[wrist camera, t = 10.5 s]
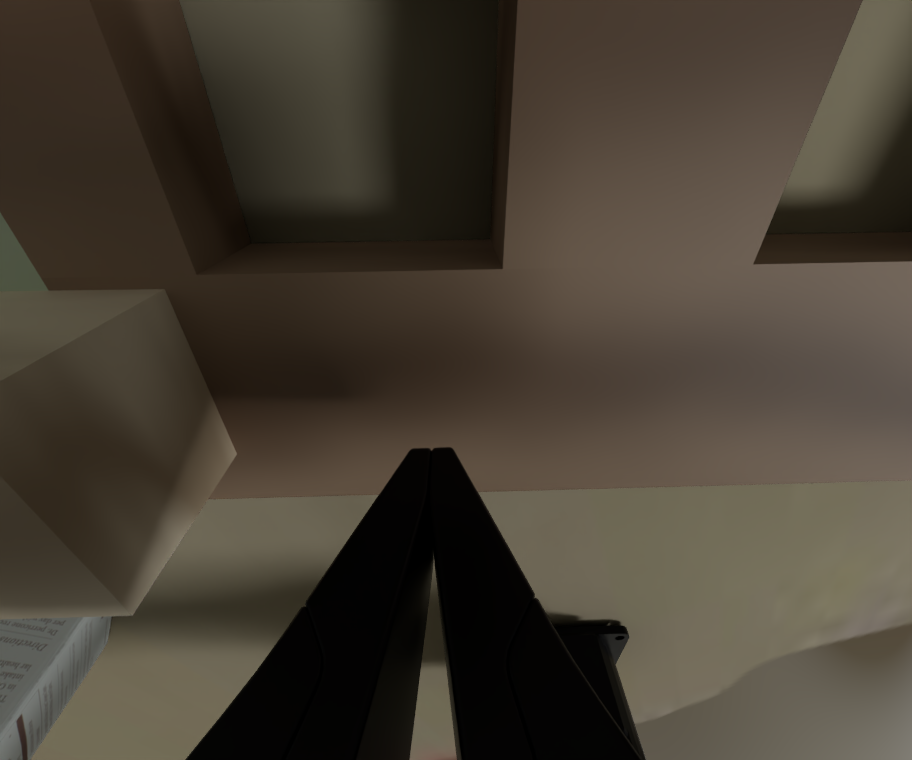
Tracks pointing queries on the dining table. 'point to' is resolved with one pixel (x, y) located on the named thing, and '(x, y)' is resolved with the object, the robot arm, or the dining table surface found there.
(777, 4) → the trap deck
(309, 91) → the dining table surface
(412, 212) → the dining table surface
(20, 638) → the supplement box
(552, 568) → the dining table surface
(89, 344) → the birch block
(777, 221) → the dining table surface
